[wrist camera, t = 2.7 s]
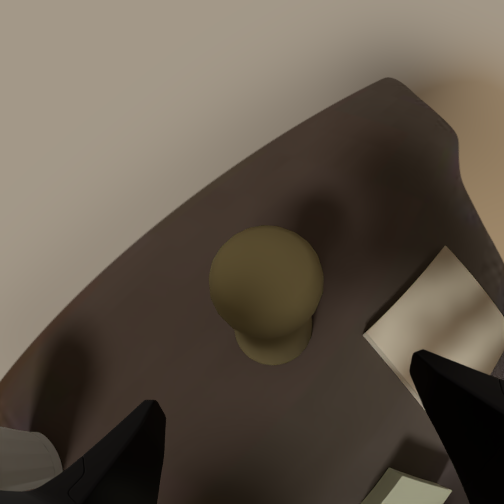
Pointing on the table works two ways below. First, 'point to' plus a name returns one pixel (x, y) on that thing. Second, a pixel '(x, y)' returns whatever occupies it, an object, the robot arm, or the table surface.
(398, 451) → the table surface
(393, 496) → the soap bar
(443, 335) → the board
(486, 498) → the robot arm
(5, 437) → the cup
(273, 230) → the cork
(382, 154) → the table surface
